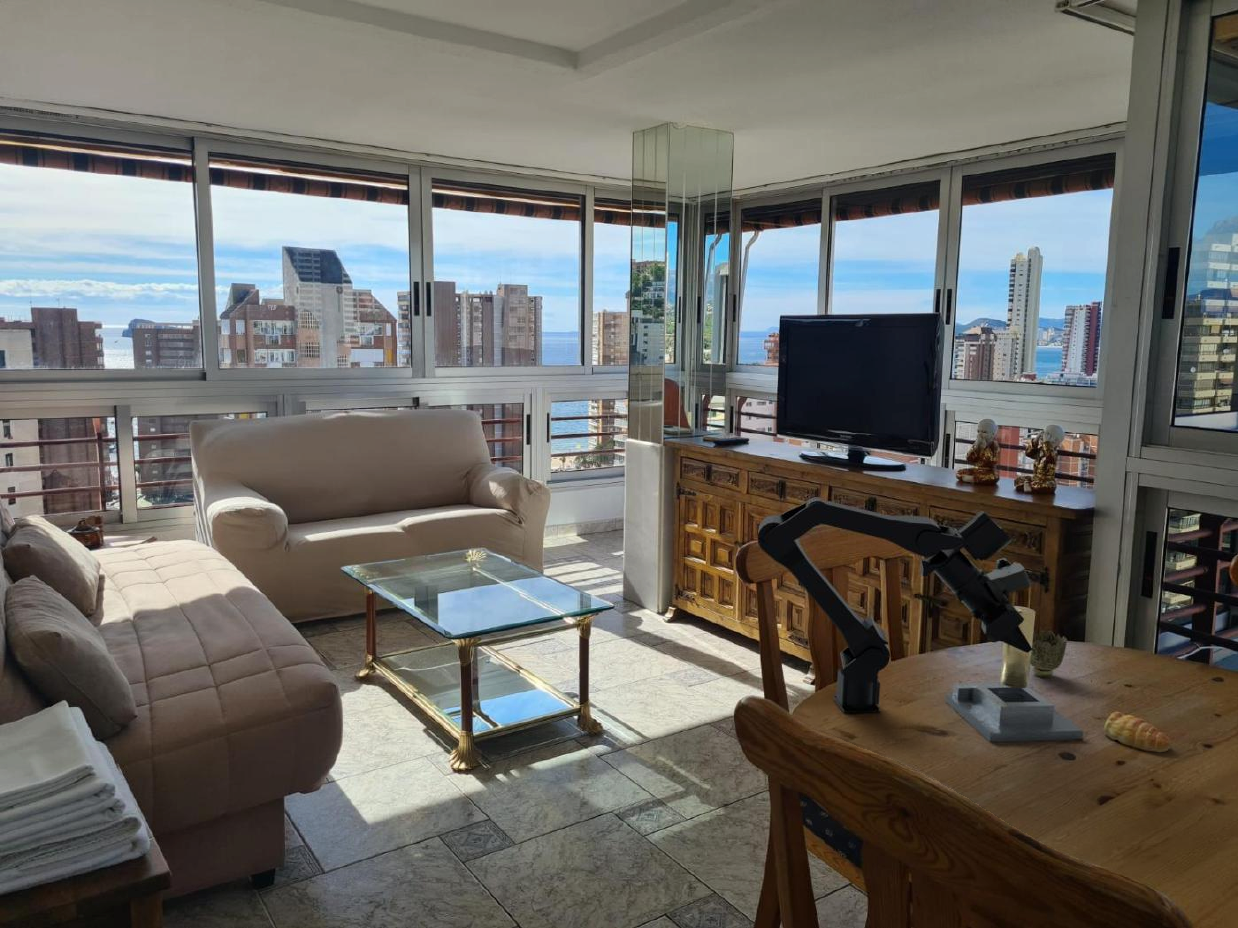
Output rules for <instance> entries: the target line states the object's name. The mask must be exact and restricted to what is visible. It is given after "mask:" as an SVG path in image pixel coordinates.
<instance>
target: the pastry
mask: <svg viewBox="0 0 1238 928" xmlns="http://www.w3.org/2000/svg"><path fill="white" fill-rule="evenodd" d="M1102 731H1103V732H1104V733H1105V735H1107V737H1108V738H1109V739H1111V740H1113V741H1115V740H1117V741H1118V742H1119V743H1121V744H1122V745H1125V746H1131V747H1133V748H1136V749H1141V750H1143V751H1147V752H1157V753H1163V752H1166V751H1168V750H1170V747H1171V745H1172V740H1171V739H1170V738H1169V737H1168V736H1167V735H1166V734H1165V733H1163V731H1162V730H1160V729H1158V728H1156V727H1155V726H1154V725H1153V724H1150V723H1147V722H1146V721H1145V720H1144V719H1143V718H1137V717H1136V716H1134V715H1131V714H1127V715H1125V714H1124V713H1122V712H1120V711H1114V712H1112V713H1111V714H1110V716H1109V717H1107V720H1106V722H1105V724H1104V728H1103V730H1102Z"/></svg>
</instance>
